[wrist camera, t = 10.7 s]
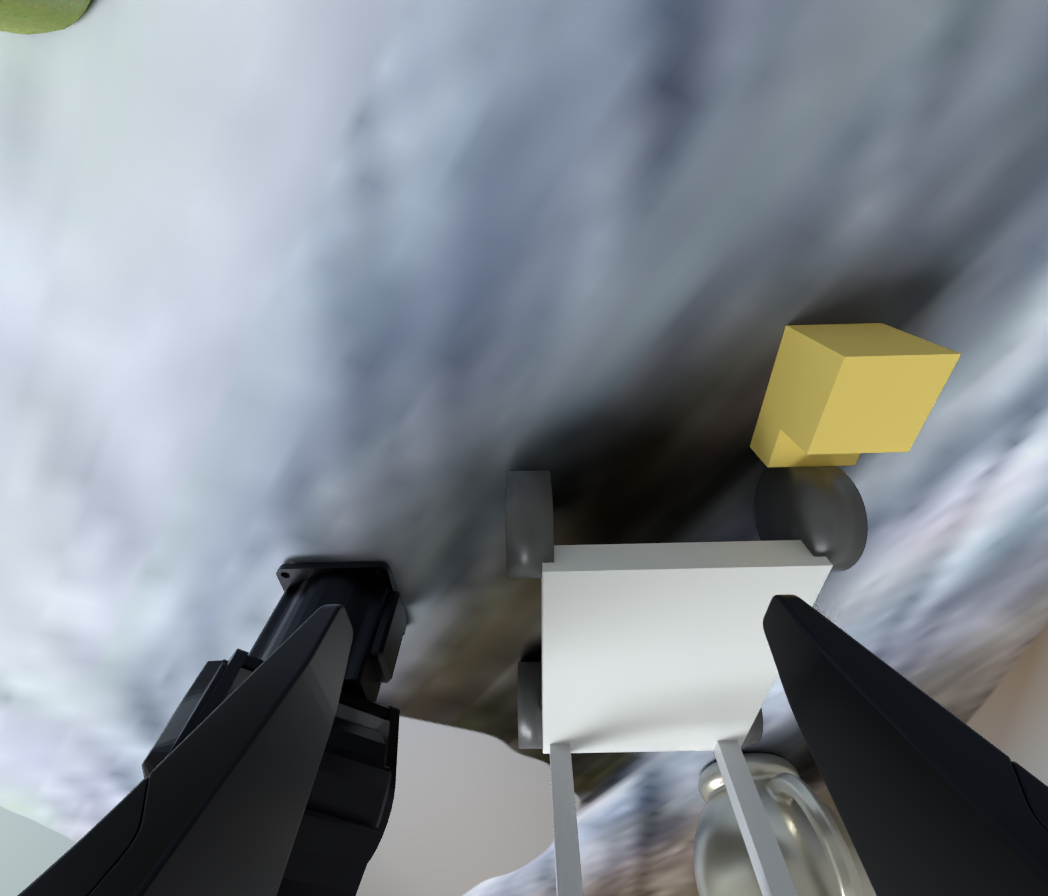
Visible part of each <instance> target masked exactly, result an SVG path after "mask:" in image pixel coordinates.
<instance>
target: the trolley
mask: <svg viewBox="0 0 1048 896" xmlns="http://www.w3.org/2000/svg"><path fill="white" fill-rule="evenodd" d="M755 520H756V526H757V530H758V534H759V537H760V540H761V541H732V542H688V543H644V544H600V545H556V546H554V522H553V500H552V486H551V476H550V471H549V470H538V471H507V475H506V553H507V569H508V577H509V579H515V578H541V583H542V661H537V662H518V740H519V749H536V748H543V754H548V753H550V769H551V789H552V807H553V828H554V848H555V867H556V887H557V896H583V887H582V875H581V864H580V853H579V841H578V830H577V819H576V807H575V796H574V784H573V773H572V762H571V753H600V752H652V751H704V750H713V751H714V754H715V757H716V760H717V763H718V766H719V769H720V772H721V775H722V778H723V781H724V784H725V786H726V789H727V792H728V795H729V798H730V801H731V804H732V807H733V810H734V813H735V816H736V819H737V822H738V825H739V828H740V831H741V833H742V836H743V839H744V842H745V845H746V848H747V851H748V854H749V857H750V860H751V863H752V866H753V869H754V872H755V875H756V878H757V881H758V883H759V886H760V889H761V892H762V895H763V896H798V894H797V891H796V889H795V886H794V884H793V881H792V879H791V876H790V873H789V871H788V868H787V866H786V863H785V861H784V858H783V855H782V853H781V850H780V848H779V845H778V843H777V840H776V838H775V835H774V832H773V830H772V827H771V825H770V822H769V820H768V817H767V814H766V812H765V809H764V807H763V804H762V802H761V799H760V797H759V794H758V791H757V789H756V786H755V784H754V781H753V779H752V776H751V773H750V771H749V768H748V766H747V763H746V761H745V758H744V755H743V753H742V750H741V746H742V745H744V744H757V743H759V741H760V739H761V737H762V732H763V716H762V709H761V706H762V704H763V702H764V700H765V698H766V697H767V695H768V693H769V691H770V689H771V687H772V685H773V683H774V681H775V679H776V677H777V675H778V671H777V668H776V665H775V662H774V659H773V656H772V653H771V650H770V647H769V645H768V642H767V639H766V636H765V633H764V630H763V618H764V615H765V613H766V611H767V608H768V606H769V604H770V601H771V599H772V597H773V596H775V595H787V594H791V595H796V596H798V597H799V598H801V599H802V600H804V601H805V602H806V603H808V604H809V605H810V606H811V607H812V606H813V604H814V602H815V600H816V598H817V596H818V594H819V592H820V590H821V588H822V586H823V584H824V582H825V580H826V578H827V576H828V574H829V572H831V571H844V570H847V569H849V568H851V567H852V566H853V565H854V564H855V563H856V562H857V561H858V560H859V558H860V557H861V555H862V553H863V551H864V548H865V545H866V540H867V530H868V526H867V515H866V510H865V506H864V503H863V500H862V497H861V495H860V493H859V491H858V489H857V488H856V486H855V484H854V483H853V482H852V480H851V479H850V478H849V477H848V476H847V475H846V474H845V473H844V472H843V471H842V470H840V469H839V468H837V467H835V466H806V467H771V468H769V469H768V470H767V471H766V472H765V473H764V474H763V476H762V478H761V479H760V482H759V484H758V487H757V491H756V496H755Z"/></svg>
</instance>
